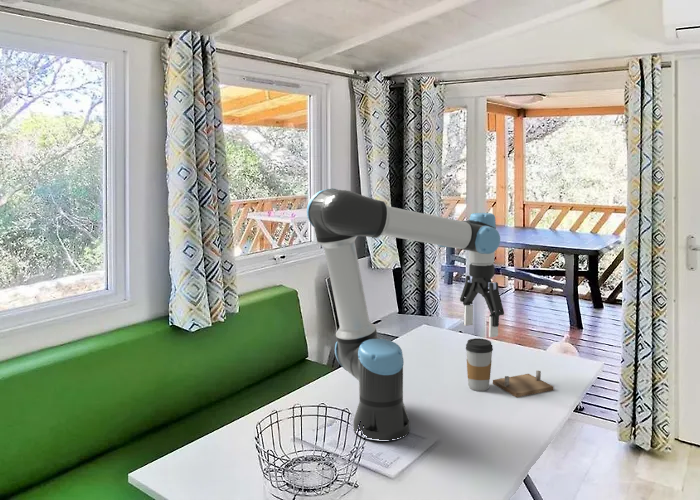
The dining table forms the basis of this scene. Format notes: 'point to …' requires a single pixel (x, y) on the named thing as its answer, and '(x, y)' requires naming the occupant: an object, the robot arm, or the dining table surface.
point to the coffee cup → (479, 363)
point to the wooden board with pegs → (523, 384)
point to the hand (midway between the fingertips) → (480, 330)
